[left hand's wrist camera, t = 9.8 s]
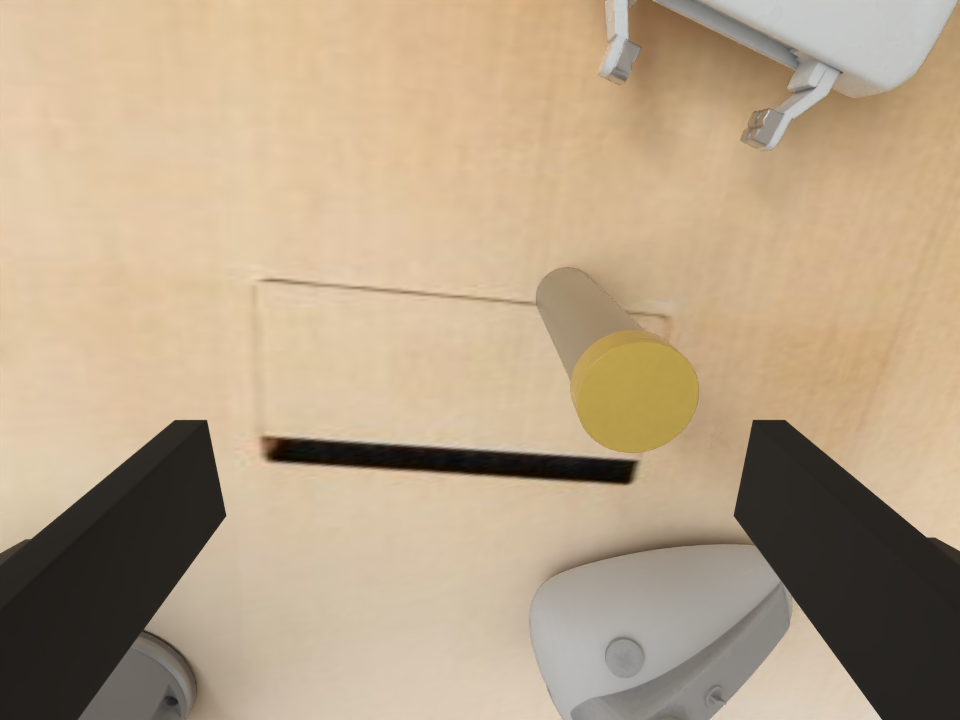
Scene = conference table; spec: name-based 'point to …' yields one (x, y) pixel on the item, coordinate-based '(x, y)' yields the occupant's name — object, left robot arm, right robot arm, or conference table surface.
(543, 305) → the bottle
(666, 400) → the lid
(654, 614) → the projector
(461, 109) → the conference table surface
